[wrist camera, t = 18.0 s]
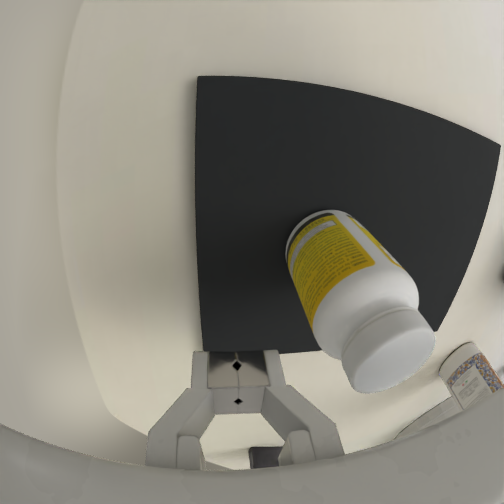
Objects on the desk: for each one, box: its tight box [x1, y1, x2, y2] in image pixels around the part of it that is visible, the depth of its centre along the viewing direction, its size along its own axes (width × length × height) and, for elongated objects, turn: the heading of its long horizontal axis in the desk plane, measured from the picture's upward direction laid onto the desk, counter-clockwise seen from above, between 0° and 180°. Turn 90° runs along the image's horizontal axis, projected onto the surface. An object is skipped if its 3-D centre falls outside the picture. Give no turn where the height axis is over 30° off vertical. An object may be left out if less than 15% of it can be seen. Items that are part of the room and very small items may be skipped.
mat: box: [195, 76, 501, 354], centre depth 19 cm, size 24×20×1 cm
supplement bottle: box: [286, 210, 436, 393], centre depth 14 cm, size 5×5×10 cm
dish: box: [394, 397, 461, 440], centre depth 41 cm, size 22×22×5 cm
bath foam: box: [440, 343, 504, 411], centre depth 21 cm, size 7×7×20 cm
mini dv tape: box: [249, 447, 283, 469], centre depth 33 cm, size 8×2×6 cm, turn 72°
